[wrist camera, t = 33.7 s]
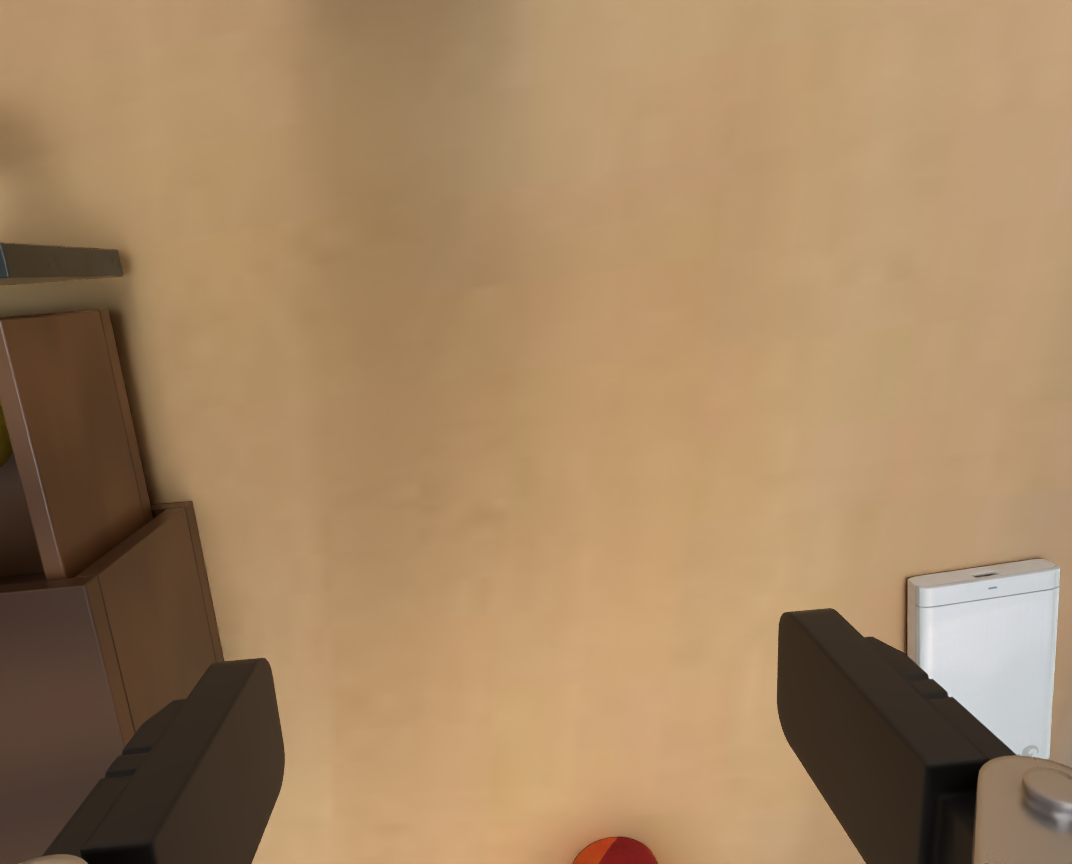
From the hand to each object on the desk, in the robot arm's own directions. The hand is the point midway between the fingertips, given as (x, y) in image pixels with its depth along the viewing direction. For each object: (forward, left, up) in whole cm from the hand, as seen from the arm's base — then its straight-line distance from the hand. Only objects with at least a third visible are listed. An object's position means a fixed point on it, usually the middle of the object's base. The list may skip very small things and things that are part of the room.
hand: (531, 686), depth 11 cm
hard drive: (+18, +26, -26) cm, 41 cm away
